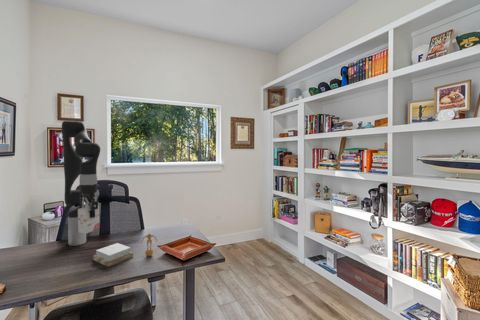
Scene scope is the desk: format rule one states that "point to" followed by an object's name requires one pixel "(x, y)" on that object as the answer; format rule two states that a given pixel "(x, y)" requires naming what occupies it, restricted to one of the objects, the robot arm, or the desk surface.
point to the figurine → (150, 251)
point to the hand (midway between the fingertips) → (89, 216)
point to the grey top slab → (113, 251)
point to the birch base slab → (110, 263)
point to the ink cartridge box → (87, 219)
